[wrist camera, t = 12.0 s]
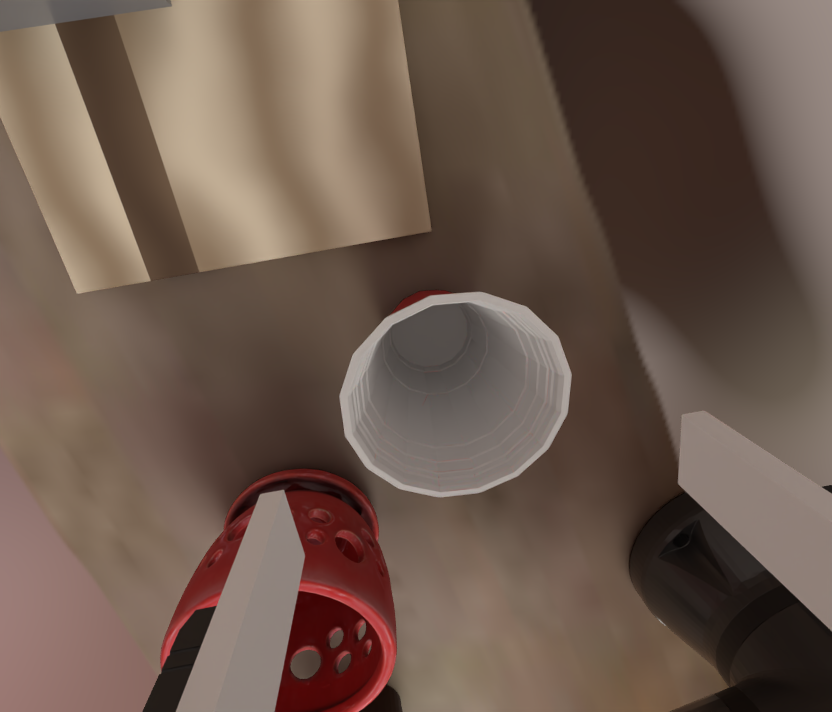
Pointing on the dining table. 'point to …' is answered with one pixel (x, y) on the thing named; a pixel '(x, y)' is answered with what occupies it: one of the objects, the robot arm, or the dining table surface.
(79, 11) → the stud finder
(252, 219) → the plywood panel
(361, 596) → the plant pot
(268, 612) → the robot arm
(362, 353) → the plastic cup
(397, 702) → the coffee mug
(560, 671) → the dining table surface
